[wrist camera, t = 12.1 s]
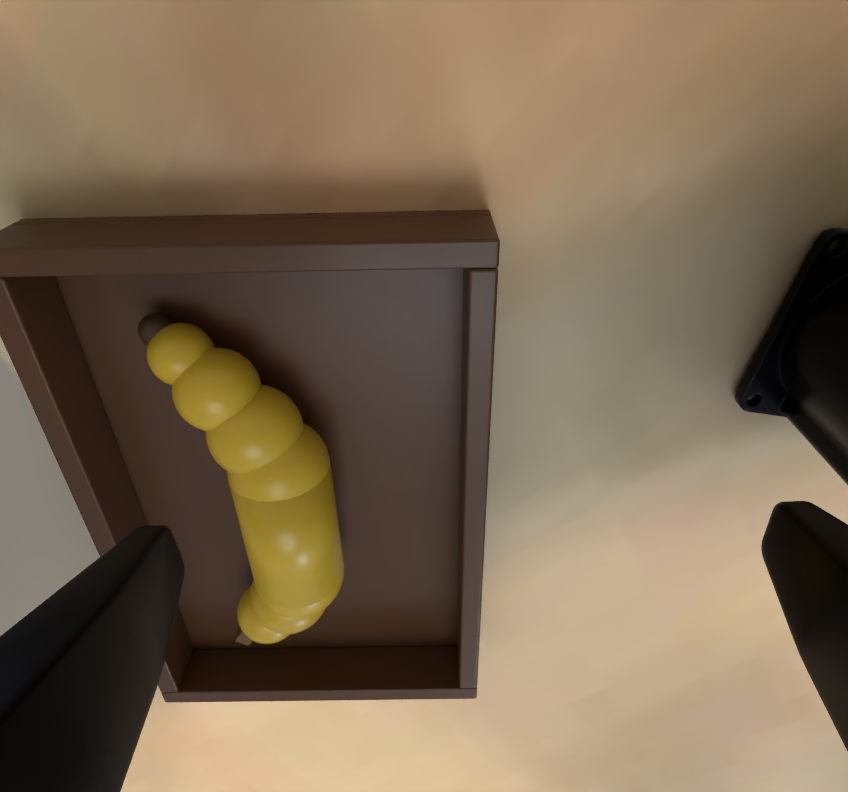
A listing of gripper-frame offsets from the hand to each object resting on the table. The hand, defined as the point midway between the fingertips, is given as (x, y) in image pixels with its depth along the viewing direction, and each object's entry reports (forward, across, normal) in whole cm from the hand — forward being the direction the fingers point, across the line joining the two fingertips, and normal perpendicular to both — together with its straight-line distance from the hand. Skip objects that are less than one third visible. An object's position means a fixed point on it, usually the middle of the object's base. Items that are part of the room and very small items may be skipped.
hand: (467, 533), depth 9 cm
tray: (+12, +6, +9) cm, 16 cm away
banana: (+11, +7, +8) cm, 16 cm away
